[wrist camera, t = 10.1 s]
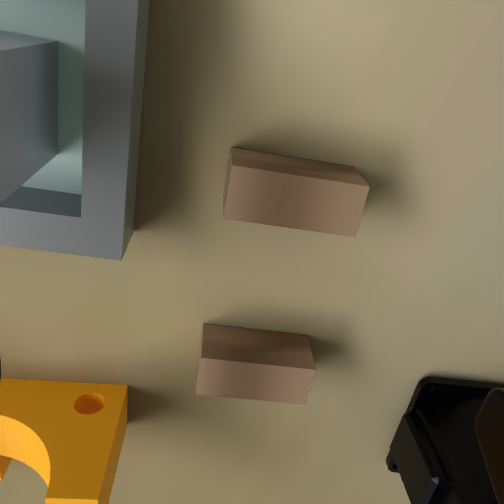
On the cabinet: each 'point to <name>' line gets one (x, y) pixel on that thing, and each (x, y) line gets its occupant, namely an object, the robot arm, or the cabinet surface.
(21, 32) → the port
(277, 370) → the brown blocks
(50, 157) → the plug
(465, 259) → the cabinet surface
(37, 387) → the pipe clamp
